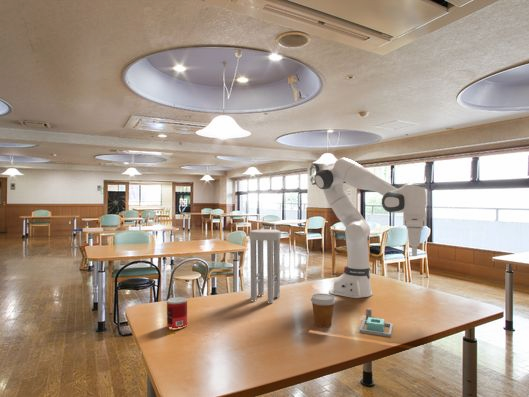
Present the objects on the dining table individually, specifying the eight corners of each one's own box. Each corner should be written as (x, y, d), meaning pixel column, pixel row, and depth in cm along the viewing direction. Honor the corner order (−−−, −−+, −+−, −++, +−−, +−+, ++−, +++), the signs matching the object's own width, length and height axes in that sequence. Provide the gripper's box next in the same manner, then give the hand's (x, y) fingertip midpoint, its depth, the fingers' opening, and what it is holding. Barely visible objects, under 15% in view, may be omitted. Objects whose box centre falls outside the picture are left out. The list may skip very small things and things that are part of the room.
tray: (359, 334, 124) (359, 329, 124) (363, 324, 134) (363, 319, 134) (390, 339, 119) (390, 334, 119) (392, 328, 129) (392, 323, 129)
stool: (245, 301, 164) (244, 231, 164) (257, 293, 179) (257, 228, 179) (274, 305, 159) (273, 232, 159) (284, 296, 173) (284, 229, 173)
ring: (366, 331, 125) (366, 322, 125) (368, 326, 131) (368, 317, 131) (383, 334, 123) (383, 324, 123) (384, 328, 128) (384, 319, 128)
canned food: (190, 324, 136) (190, 297, 136) (179, 331, 128) (179, 303, 128) (174, 322, 138) (174, 295, 138) (163, 329, 131) (162, 301, 131)
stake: (358, 322, 136) (358, 310, 136) (361, 317, 142) (361, 305, 142) (376, 325, 133) (376, 313, 133) (378, 319, 139) (378, 307, 139)
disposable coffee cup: (320, 333, 126) (320, 301, 126) (306, 324, 134) (306, 295, 134) (340, 328, 130) (340, 298, 130) (325, 320, 138) (325, 292, 138)
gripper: (407, 219, 150) (407, 249, 150) (405, 222, 132) (405, 257, 132) (422, 220, 148) (422, 250, 148) (423, 223, 129) (423, 258, 129)
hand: (414, 254), depth 140 cm, fingers open, 8 cm apart
